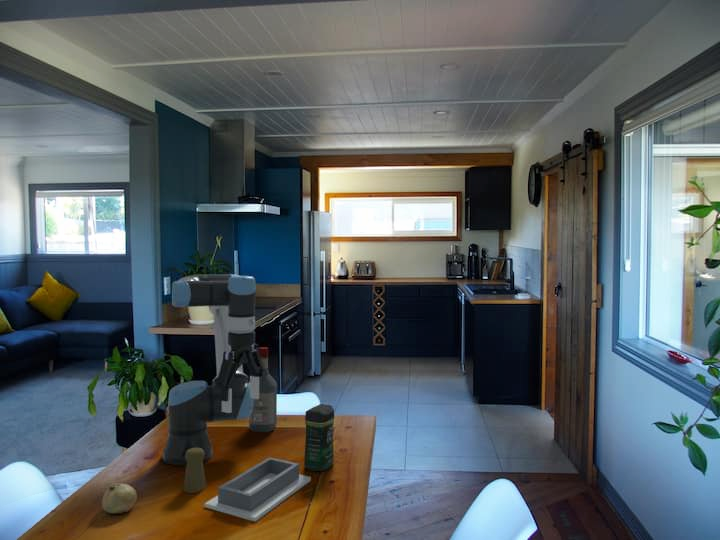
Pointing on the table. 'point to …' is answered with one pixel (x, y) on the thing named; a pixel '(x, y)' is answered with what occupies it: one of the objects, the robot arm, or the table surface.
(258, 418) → the liquor
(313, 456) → the coffee jar
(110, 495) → the onion
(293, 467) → the slot well
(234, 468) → the table surface
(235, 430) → the table surface
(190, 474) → the cork
